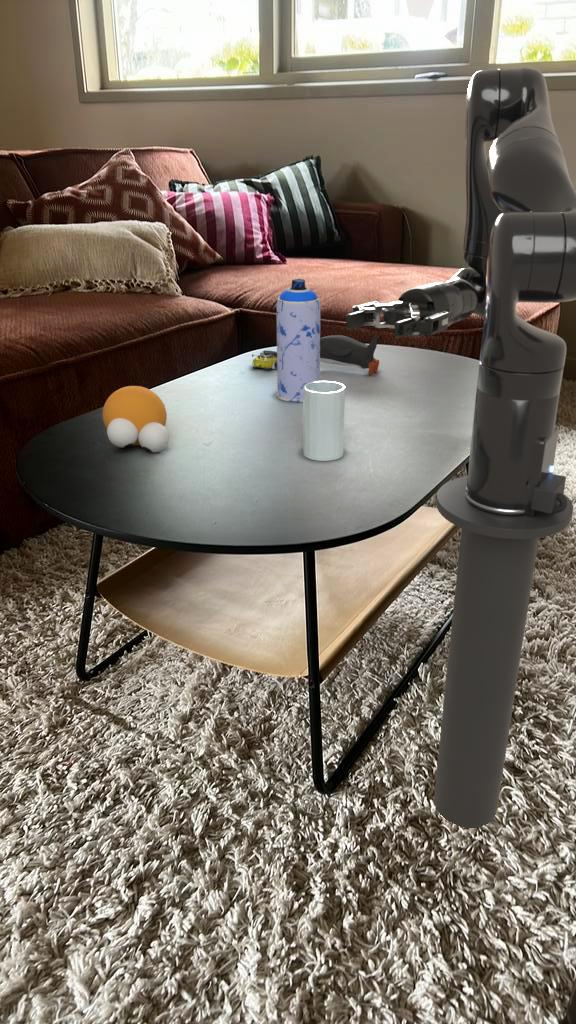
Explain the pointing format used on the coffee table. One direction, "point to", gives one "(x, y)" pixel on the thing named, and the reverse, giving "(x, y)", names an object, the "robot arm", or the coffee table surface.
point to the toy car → (265, 360)
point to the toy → (136, 419)
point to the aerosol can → (297, 340)
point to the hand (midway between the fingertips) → (371, 326)
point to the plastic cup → (323, 420)
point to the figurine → (348, 352)
